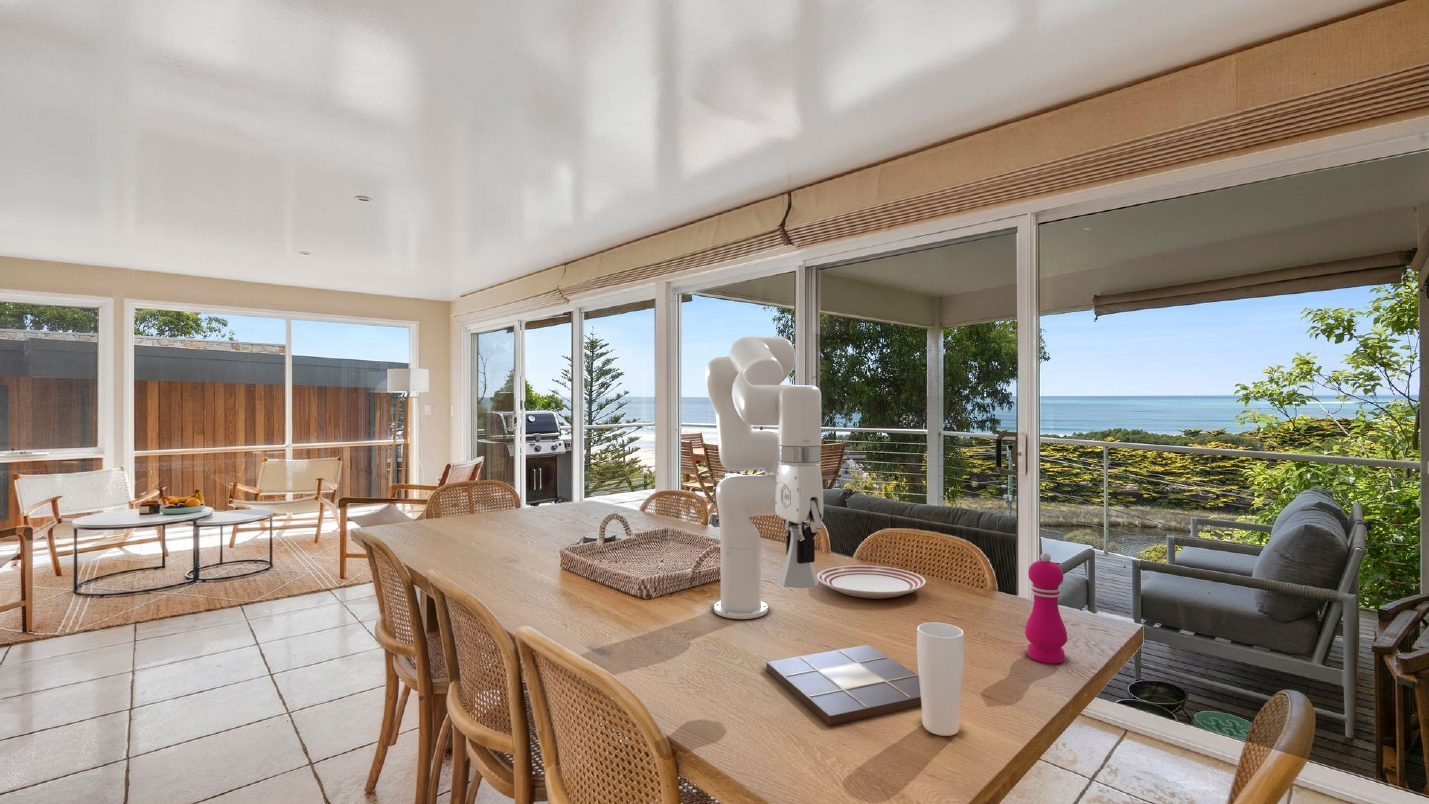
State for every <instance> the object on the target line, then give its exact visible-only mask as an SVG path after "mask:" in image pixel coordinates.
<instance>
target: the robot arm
mask: <svg viewBox="0 0 1429 804" xmlns="http://www.w3.org/2000/svg"><path fill="white" fill-rule="evenodd" d="M796 358H797V357H796V350H795V347H794V345H793V344H792V342H791V341H790V340H789V339H788V338H786V337H783V336H759V335H758V336H755V335H753V336H749V335H748V336H742V337H740V338H738V339H736V340H735V341H734V342H733V343H732V344H731V346H730V348H729V355H722V356H717V357H714V358H712V359H710V360H709V361H708V362H707V364H706V367H705V373H704V374H705V387H706V391H707V395H708V397H709V398H708V399H709V401H710V403H711V405H712V408H713V411H714V414H715V419H716V420H715V421H716V433H717V434H716V435H717V447H718V456H719V461H720V464H721V466H722V467H723V468H724V469H725V470H729V471H760V470H761V471H764V473H765V474H755V475H754V474H748V475H747V474H746V475H745V474H744V475H731V476H727V477H724V478H723V479H720V481H719V482H718V484H717V485H716V488H715V500H716V505H717V512H718V513H717V514H718V518H719V519H718V520H719V550H720V551H719V552H720V553H719V557H720V558H719V560H720V562H719V563H720V567H719V568H720V570H719V571H720V575H719V576H720V578H719V579H720V590H719V591H720V600H718V601H717V602H715V603H714V604H713V611H714V613H715V614H716V615H718V616H719V617H723V618H725V619H726V618H727V619H733V620H751V619H756V618H757V619H758V618H760V617H763V616H765V615H767V613H768V612H769V606H768V604H767V603H766V602H765V601H762V537H761V534H760V531H759V529H758V527H756V525H755V524H754V523H753V522H752V521H751V518H753V517H762V516H765V517H766V516H778V517H779V518H781V519H782V520H783V524H784V533H785V535H786V536H785V543H786V544H785V545H786V547H785V549H786V552H785V553H786V554H785V555H786V557H787V554H788V551H789V546H790V541H791V531H790V530H789V527H790V526H798V530H799V540H797V562H798V563H799V564H802V563H811V562H812V563H814V562H815V559H816V557H815V556H816V554H815V552H816V551H815V549H816V547H815V546H816V544H815V543H816V541H815V540H816V539H817V534H818V532H819V531H820V530H822V529H823V523H822V520H823V518H824V487H823V486H824V485H823V484H824V483H823V475H822V469H821V468H822V467H821V465H822V391H821V389H820V388H819V387H817V386H816V385H801V384H782V383H783V382H784V381H785V380H786V379H787V378H788V377H789V375H790V374H791V373H792V371H793V370H794V368H795V365H796ZM754 426H777V428H778V429H777V431H776V430H770V429H763V430H762V429H757V430H756V429H754V428H753V427H754ZM804 526H806V529H805V530H804Z"/></svg>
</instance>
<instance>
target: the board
mask: <svg viewBox="0 0 1429 804" xmlns="http://www.w3.org/2000/svg"><path fill="white" fill-rule="evenodd" d="M765 663H766V666H765V667H766V671H767V672H768V673H769V674H770V675H772V677H774V678H775V679H776V680H777V681H779V683H780V684H782V685H783V686H784V687H785V688H786V689H787V690H788V691H790V693H792V694H793V695H794V696H796V698H798V699H799V700H800V701H801V702H802V703H803V704H804V705H806V706H807V707H808V708H809V709H810V710H811V711H812V712H814V713H815V714H816V715H817V716H818V717H819V718H820V719H822V720H823V721H824V723H826V724H827V725H828V726H830V727H831V726H836V725H840V724H845V723H849V722H853V721H859V720H863V719H866V718H867V719H868V718H873V717H876V716H880V715H885V714H890V713H895V712H898V711H903V710H908V709H913V708H917V707H922V705H921V694H920V682H919V674H917V673H915V672H914V671H912V670H910V669H909V668H907V667H905V666H904V665H902V664H901V663H899V662H897V661H896V660H894V659H892V658H890V657H889V656H887V655H885V654H884V653H882V652H881V651H879V650H878V649H875V648H874V647H873V646H870V645H869V644H864V645H858V646H853V647H847V648H846V647H845V648H841V649H834V650H829V651H823V652H817V653H811V654H803V655H800V656H799V655H798V656H794V657H793V656H792V657H787V658H782V659H781V658H780V659H776V660H771V661H769V660H768V661H766V662H765Z"/></svg>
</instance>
